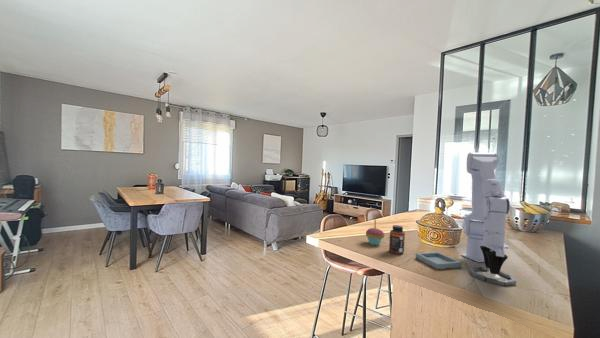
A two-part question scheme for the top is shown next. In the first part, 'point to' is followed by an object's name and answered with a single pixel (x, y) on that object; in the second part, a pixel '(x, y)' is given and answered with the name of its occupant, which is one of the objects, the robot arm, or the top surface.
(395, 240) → the supplement bottle
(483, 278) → the collar
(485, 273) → the chess piece
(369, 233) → the cupcake
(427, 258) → the tray
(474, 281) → the top surface
